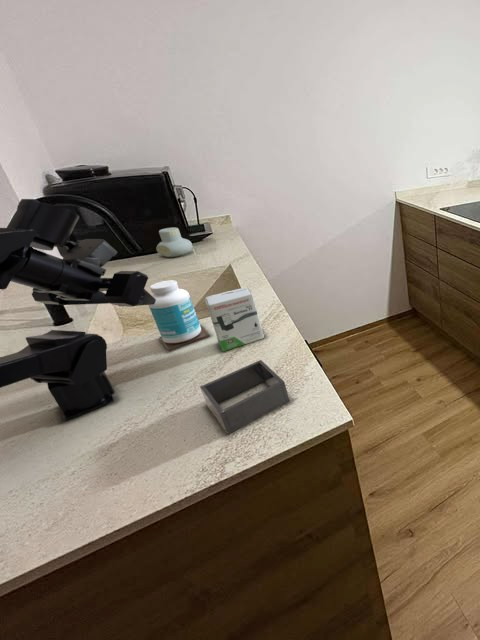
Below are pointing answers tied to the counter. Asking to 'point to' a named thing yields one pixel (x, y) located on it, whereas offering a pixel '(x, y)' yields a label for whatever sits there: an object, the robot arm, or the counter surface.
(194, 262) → the counter surface
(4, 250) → the robot arm
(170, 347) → the trivet
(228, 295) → the ink box
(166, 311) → the pill bottle
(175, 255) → the air freshener
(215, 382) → the sink basin
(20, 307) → the counter surface
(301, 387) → the counter surface
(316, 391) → the counter surface
